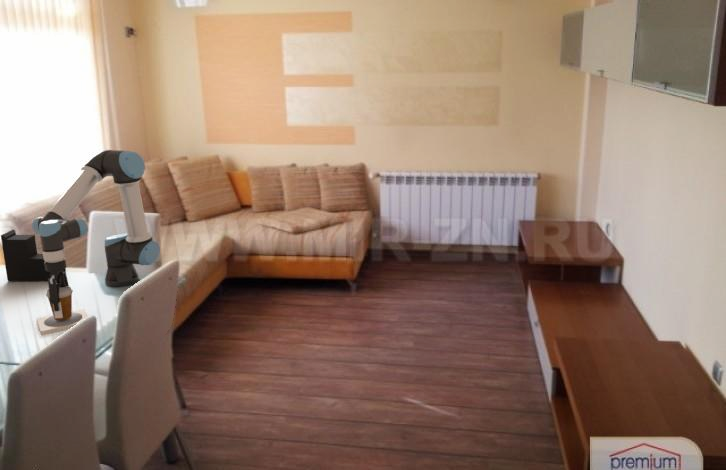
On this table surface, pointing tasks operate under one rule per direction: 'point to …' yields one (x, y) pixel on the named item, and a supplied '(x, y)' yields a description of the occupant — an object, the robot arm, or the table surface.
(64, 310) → the disposable coffee cup
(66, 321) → the carrier board
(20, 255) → the bookend
